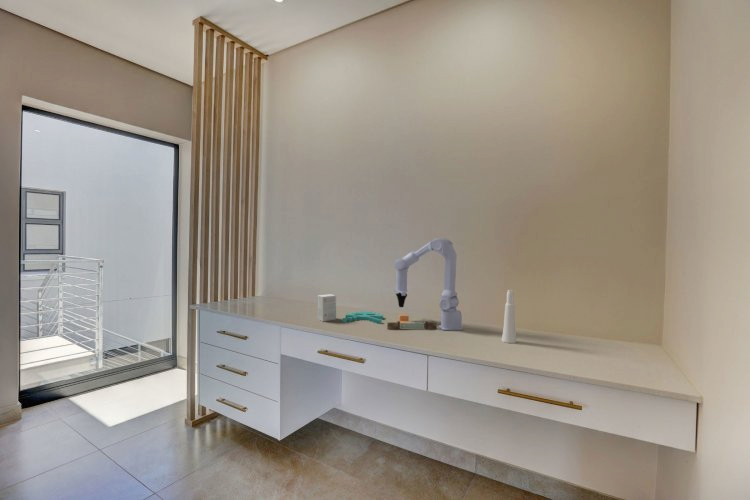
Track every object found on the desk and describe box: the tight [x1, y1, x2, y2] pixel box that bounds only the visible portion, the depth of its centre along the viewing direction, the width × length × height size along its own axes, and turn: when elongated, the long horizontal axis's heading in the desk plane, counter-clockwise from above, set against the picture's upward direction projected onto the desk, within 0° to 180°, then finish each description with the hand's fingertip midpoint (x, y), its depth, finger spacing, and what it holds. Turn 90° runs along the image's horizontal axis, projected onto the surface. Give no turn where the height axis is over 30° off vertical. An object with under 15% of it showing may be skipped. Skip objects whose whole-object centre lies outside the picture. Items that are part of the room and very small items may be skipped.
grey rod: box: [400, 322, 425, 329], centre depth 169 cm, size 12×2×2 cm, turn 95°
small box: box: [316, 293, 337, 322], centre depth 186 cm, size 8×6×13 cm
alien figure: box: [341, 310, 384, 325], centre depth 189 cm, size 20×2×20 cm
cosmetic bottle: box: [501, 289, 518, 344], centre depth 150 cm, size 6×6×22 cm
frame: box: [386, 320, 438, 330], centre depth 169 cm, size 24×2×4 cm, turn 95°
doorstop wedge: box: [398, 313, 411, 323], centre depth 177 cm, size 4×8×4 cm, turn 3°
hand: (401, 306), depth 187 cm, fingers closed
